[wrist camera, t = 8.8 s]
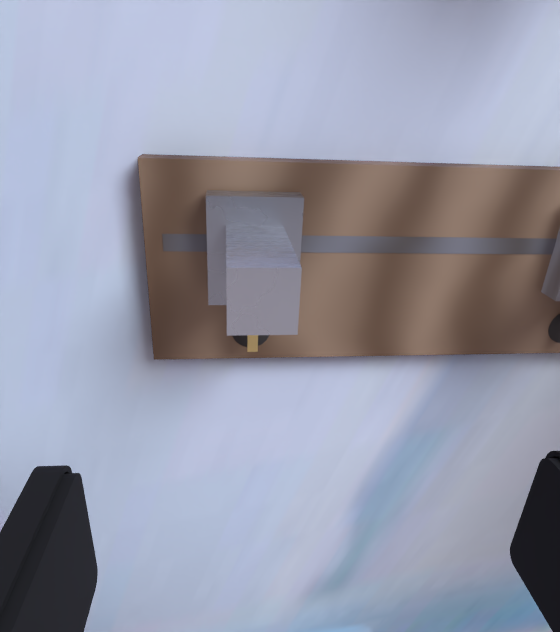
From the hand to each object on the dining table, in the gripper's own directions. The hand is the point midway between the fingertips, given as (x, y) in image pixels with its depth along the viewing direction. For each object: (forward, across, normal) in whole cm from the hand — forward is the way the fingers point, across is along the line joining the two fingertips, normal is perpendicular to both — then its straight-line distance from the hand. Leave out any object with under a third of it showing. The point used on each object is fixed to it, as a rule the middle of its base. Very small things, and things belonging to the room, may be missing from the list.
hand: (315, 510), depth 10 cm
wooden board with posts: (+21, -8, +2) cm, 23 cm away
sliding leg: (+19, +1, +2) cm, 19 cm away
